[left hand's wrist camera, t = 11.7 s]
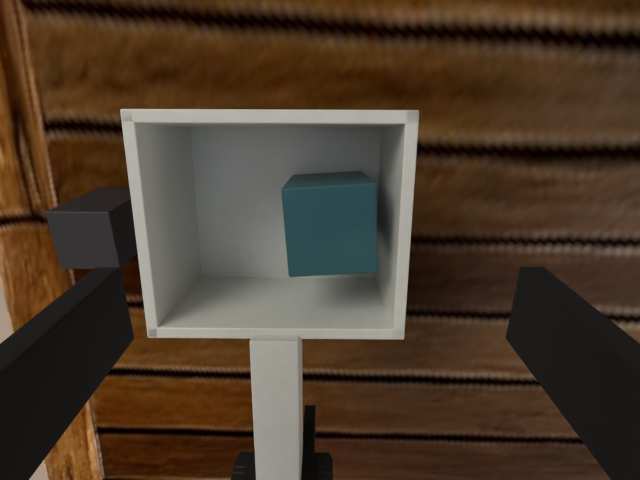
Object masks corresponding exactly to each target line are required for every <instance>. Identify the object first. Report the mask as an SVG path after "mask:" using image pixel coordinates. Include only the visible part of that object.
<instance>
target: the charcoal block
mask: <svg viewBox="0 0 640 480" xmlns="http://www.w3.org/2000/svg"><path fill="white" fill-rule="evenodd" d="M46 216H47V219H48V223H49V227H50V230H51V234H52V238H53V242H54V245H55V249H56V253H57V256H58V260H59V264H60V267H61V269H95V268H96V267H120V268H122V267H123V266H124V265H125V264H126V263H127V262H128V261H129V260H130V259H132V258H133V257H134V256H135V255H136V254H137V253H138V252H137V244H136V235H135V227H134V219H133V211H132V203H131V194H130V188H97V189H95V190H93V191H91V192H89V193H86V194H84V195H82V196H80V197H77V198H75V199H73V200H71V201H69V202H66V203H64V204H62V205H60V206H57V207H55V208H53V209H51V210H49V211H46Z"/></svg>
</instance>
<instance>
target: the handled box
mask: <svg viewBox="0 0 640 480" xmlns="http://www.w3.org/2000/svg"><path fill="white" fill-rule="evenodd" d="M120 112H121V120H122V129H123V137H124V145H125V153H126V161H127V170H128V178H129V186H130V194H131V203H132V211H133V219H134V227H135V235H136V244H137V252H138V260H139V268H140V276H141V285H142V293H143V301H144V309H145V317H146V326H147V334H148V338H251V340H250V362H251V383H252V404H253V426H254V447H255V468H256V480H301V472H302V454H303V401H302V339H401V340H403V339H404V332H405V317H406V302H407V287H408V272H409V257H410V242H411V227H412V212H413V198H414V183H415V168H416V153H417V138H418V123H419V111H418V110H261V109H121V110H120ZM347 171H362V172H363V173H364V174H365V175H367V176H368V177H369V178H370V179H371V180H372V181H374V182H375V183H376V208H377V248H378V272H374V273H356V274H339V275H321V276H303V277H289V274H288V263H287V251H286V240H285V228H284V217H283V206H282V194H281V189H282V188H283V186H284V185H285V184H286V183H287V181H288V180H289V179H290V178H291V176H292V175H299V174H315V173H331V172H347Z"/></svg>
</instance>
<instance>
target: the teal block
mask: <svg viewBox="0 0 640 480" xmlns="http://www.w3.org/2000/svg"><path fill="white" fill-rule="evenodd" d="M281 194H282V206H283V217H284V228H285V240H286V251H287V263H288V274H289V277H303V276H321V275H339V274H356V273H374V272H378V248H377V208H376V183H375V182H374V181H372V180H371V179H370V178H369V177H368V176H367V175H365V174H364V173H363V172H362V171H347V172H331V173H315V174H299V175H292V176H291V178H290V179H289V180H288V181H287V183H286V184H285V185H284V186H283V188H282V189H281Z"/></svg>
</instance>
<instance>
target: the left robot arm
mask: <svg viewBox="0 0 640 480" xmlns="http://www.w3.org/2000/svg"><path fill="white" fill-rule="evenodd" d="M133 339H134V334H133V329H132V324H131V320H130V315H129V310H128V305H127V301H126V296H125V291H124V286H123V282H122V277H121V272H120V267H96V268H95V269H94V270H92V271H91V272H90V273H89V274H87V275H86V276H85V277H83V278H82V279H81V280H80V281H78V282H77V283H76V284H75V285H73V286H72V287H71V288H70V289H68V290H67V291H66V292H65V293H63V294H62V295H61V296H60V297H58V298H57V299H56V300H55V301H53V302H52V303H51V304H50V305H48V306H47V307H46V308H45V309H43V310H42V311H41V312H40V313H38V314H37V315H36V316H35V317H33V318H32V319H31V320H30V321H28V322H27V323H26V324H25V325H23V326H22V327H21V328H20V329H18V330H17V331H16V332H15V333H13V334H12V335H11V336H10V337H8V338H7V339H6V340H5V341H3V342H2V343H1V344H0V480H29V479H30V477H31V476H32V475H33V473H34V472H35V471H36V469H37V468H38V467H39V465H40V464H41V463H42V461H43V460H44V459H45V457H46V456H47V455H48V453H49V452H50V451H51V449H52V448H53V447H54V445H55V444H56V443H57V441H58V440H59V438H60V437H61V436H62V434H63V433H64V432H65V430H66V429H67V428H68V426H69V425H70V424H71V422H72V421H73V420H74V418H75V417H76V416H77V414H78V413H79V412H80V410H81V409H82V408H83V406H84V405H85V404H86V402H87V401H88V400H89V398H90V397H91V396H92V394H93V393H94V391H95V390H96V389H97V387H98V386H99V385H100V383H101V382H102V381H103V379H104V378H105V377H106V375H107V374H108V373H109V371H110V370H111V369H112V367H113V366H114V365H115V363H116V362H117V361H118V359H119V358H120V357H121V355H122V354H123V353H124V351H125V350H126V349H127V347H128V346H129V345H130V343H131V342H132V340H133ZM506 339H507V340H508V342H509V343H510V345H511V346H512V347H513V349H514V350H515V351H516V353H517V354H518V355H519V357H520V358H521V359H522V361H523V362H524V363H525V365H526V366H527V367H528V369H529V370H530V371H531V373H532V374H533V375H534V377H535V378H536V379H537V381H538V382H539V383H540V385H541V386H542V387H543V389H544V390H545V392H546V393H547V394H548V396H549V397H550V398H551V400H552V401H553V402H554V404H555V405H556V406H557V408H558V409H559V410H560V412H561V413H562V414H563V416H564V417H565V418H566V420H567V421H568V422H569V424H570V425H571V426H572V428H573V429H574V430H575V432H576V433H577V434H578V436H579V437H580V438H581V440H582V441H583V443H584V444H585V445H586V447H587V448H588V449H589V451H590V452H591V453H592V455H593V456H594V457H595V459H596V460H597V461H598V463H599V464H600V465H601V467H602V468H603V469H604V471H605V472H606V473H607V475H608V476H609V477H610V479H611V480H640V344H639V343H638V342H637V341H635V340H634V339H633V338H632V337H630V336H629V335H628V334H627V333H625V332H624V331H623V330H622V329H620V328H619V327H618V326H617V325H615V324H614V323H613V322H612V321H610V320H609V319H608V318H607V317H605V316H604V315H603V314H602V313H600V312H599V311H598V310H597V309H595V308H594V307H593V306H592V305H590V304H589V303H588V302H587V301H585V300H584V299H583V298H582V297H580V296H579V295H578V294H577V293H575V292H574V291H573V290H572V289H570V288H569V287H568V286H567V285H565V284H564V283H563V282H562V281H560V280H559V279H558V278H557V277H555V276H554V275H553V274H551V273H550V272H549V271H548V270H546V269H545V268H544V267H520V272H519V277H518V282H517V286H516V291H515V296H514V301H513V305H512V310H511V315H510V320H509V324H508V329H507V334H506Z"/></svg>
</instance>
